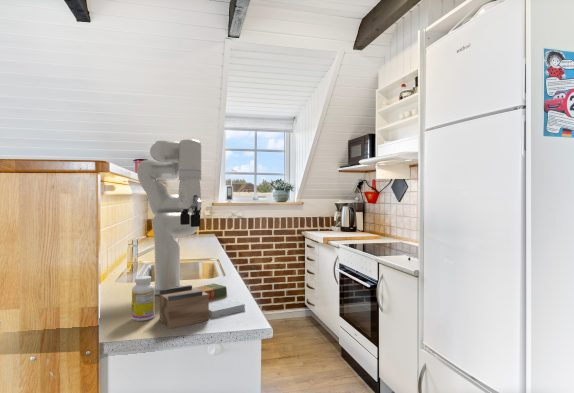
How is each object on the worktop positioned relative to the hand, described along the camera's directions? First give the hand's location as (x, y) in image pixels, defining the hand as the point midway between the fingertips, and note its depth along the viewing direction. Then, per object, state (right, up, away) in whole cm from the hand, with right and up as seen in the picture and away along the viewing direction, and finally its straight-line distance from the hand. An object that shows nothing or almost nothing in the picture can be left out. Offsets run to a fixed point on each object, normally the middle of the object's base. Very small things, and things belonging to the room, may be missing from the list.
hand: (190, 225), depth 123 cm
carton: (+2, -29, +10) cm, 31 cm away
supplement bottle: (-12, -29, -11) cm, 33 cm away
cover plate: (+13, -29, -5) cm, 32 cm away
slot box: (+2, -28, -12) cm, 31 cm away
